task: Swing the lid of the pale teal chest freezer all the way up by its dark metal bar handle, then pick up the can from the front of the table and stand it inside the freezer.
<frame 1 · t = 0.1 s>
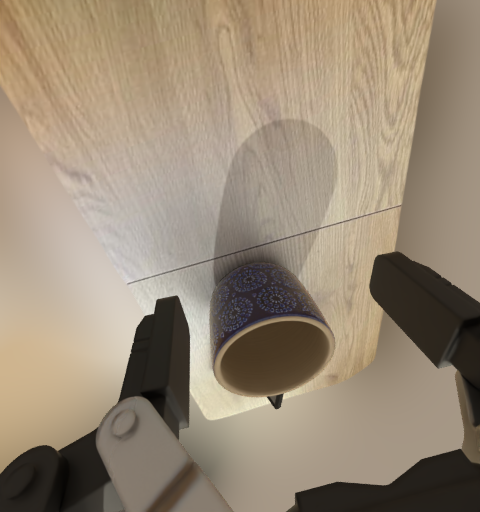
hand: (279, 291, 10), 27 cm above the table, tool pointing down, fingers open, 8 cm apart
planter: (252, 289, 45), on the table
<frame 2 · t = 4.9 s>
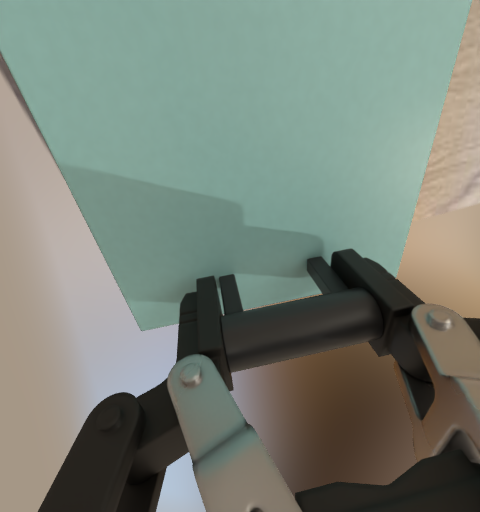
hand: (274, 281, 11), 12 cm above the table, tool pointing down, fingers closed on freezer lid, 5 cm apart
freezer lid: (275, 109, 6), point 13 cm above the table, hinge at -0.1°, touching gripper
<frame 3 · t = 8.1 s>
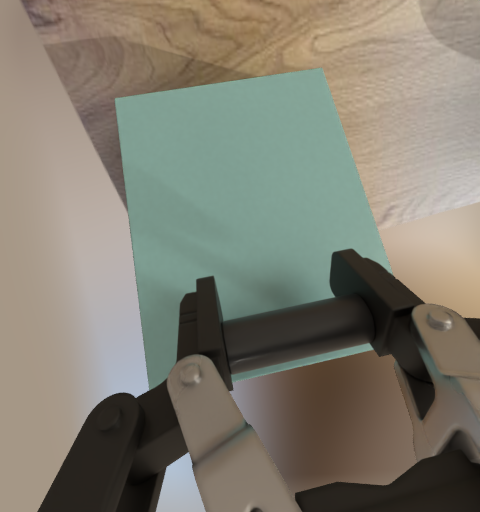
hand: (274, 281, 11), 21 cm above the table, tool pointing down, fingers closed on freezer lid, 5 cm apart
freezer lid: (252, 192, 12), point 18 cm above the table, hinge at 46.0°, touching gripper
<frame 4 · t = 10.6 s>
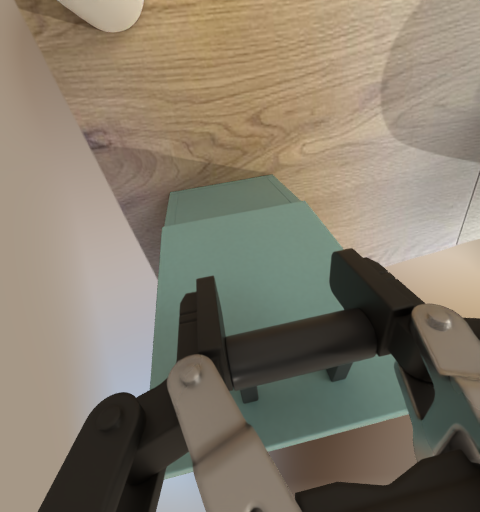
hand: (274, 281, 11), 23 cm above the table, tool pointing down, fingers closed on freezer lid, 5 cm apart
freezer: (230, 238, 35), on the table
freezer lid: (256, 261, 15), point 19 cm above the table, hinge at 82.0°, touching gripper
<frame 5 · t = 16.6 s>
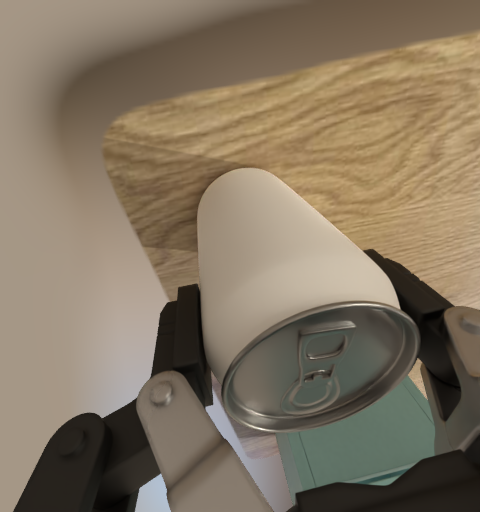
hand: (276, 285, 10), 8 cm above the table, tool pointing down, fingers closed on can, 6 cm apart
freezer: (322, 395, 31), on the table
can: (244, 214, 17), on the table, touching gripper
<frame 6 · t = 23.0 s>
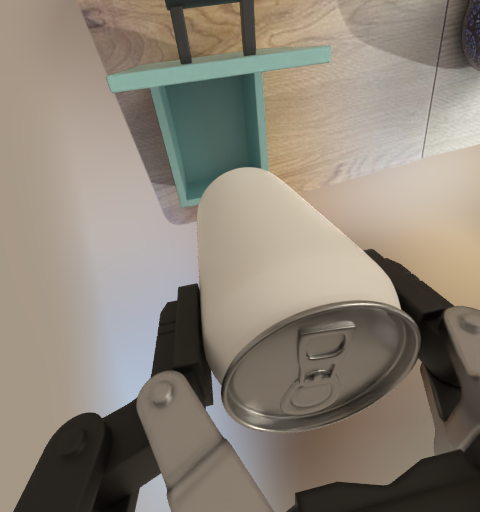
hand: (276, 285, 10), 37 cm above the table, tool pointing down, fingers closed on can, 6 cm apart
freezer: (211, 132, 40), on the table
freezer lid: (206, 29, 19), point 19 cm above the table, hinge at 82.4°
can: (244, 213, 17), point 29 cm above the table, touching gripper
when the fingers open (9 cm above the table, at t = 29.7 s): can stays where it is, resting on freezer.
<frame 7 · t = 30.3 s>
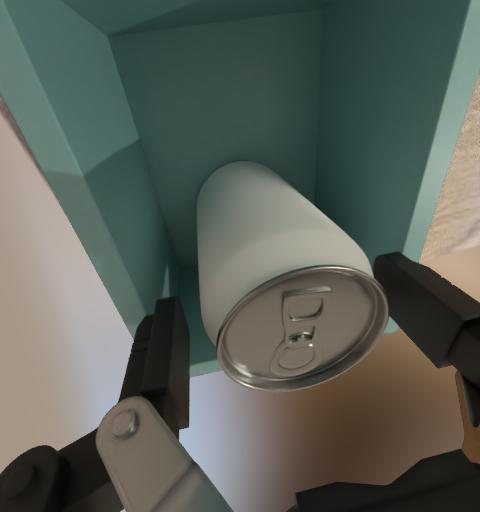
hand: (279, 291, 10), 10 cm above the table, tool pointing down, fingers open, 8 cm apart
freezer: (234, 162, 17), on the table
can: (241, 205, 18), point 1 cm above the table, touching freezer
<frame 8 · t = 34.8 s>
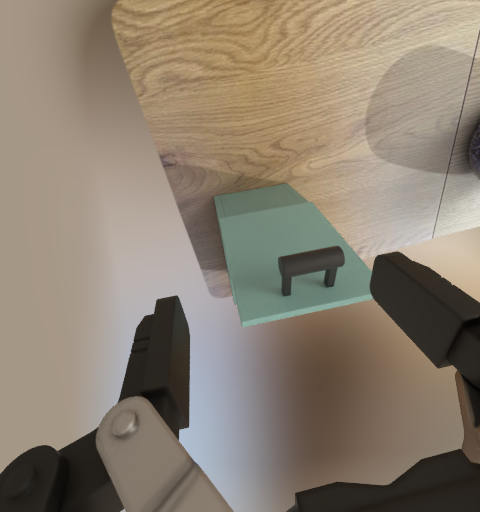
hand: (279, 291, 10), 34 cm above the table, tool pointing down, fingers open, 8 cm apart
freezer: (254, 230, 47), on the table
freezer lid: (285, 234, 26), point 19 cm above the table, hinge at 82.4°
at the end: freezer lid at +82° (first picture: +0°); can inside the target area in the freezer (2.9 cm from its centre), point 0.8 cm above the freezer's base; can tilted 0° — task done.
